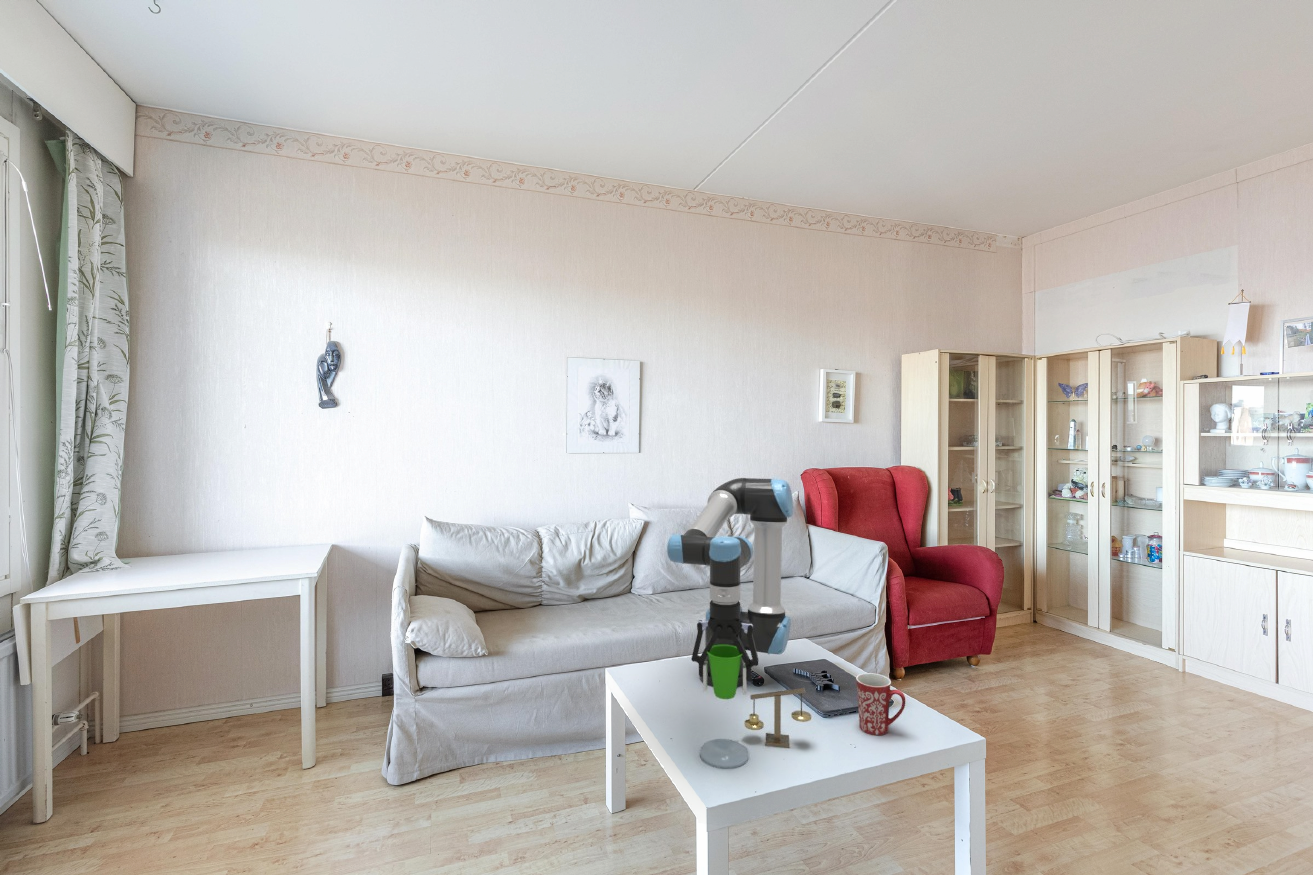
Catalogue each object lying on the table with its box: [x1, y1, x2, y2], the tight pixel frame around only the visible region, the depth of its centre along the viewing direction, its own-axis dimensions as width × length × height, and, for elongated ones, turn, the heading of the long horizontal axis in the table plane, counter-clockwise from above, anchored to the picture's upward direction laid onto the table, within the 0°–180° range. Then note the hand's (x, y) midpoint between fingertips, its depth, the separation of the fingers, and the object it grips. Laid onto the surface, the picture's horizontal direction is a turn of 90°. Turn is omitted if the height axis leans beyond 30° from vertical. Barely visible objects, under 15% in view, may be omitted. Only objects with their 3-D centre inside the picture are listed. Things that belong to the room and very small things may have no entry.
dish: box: [699, 738, 750, 770], centre depth 155 cm, size 12×12×1 cm
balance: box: [743, 687, 812, 749], centre depth 161 cm, size 17×5×14 cm, turn 79°
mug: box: [855, 672, 906, 736], centre depth 167 cm, size 13×9×14 cm
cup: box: [707, 644, 742, 700], centre depth 154 cm, size 9×9×11 cm
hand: (724, 690), depth 154 cm, fingers closed on cup, 9 cm apart
